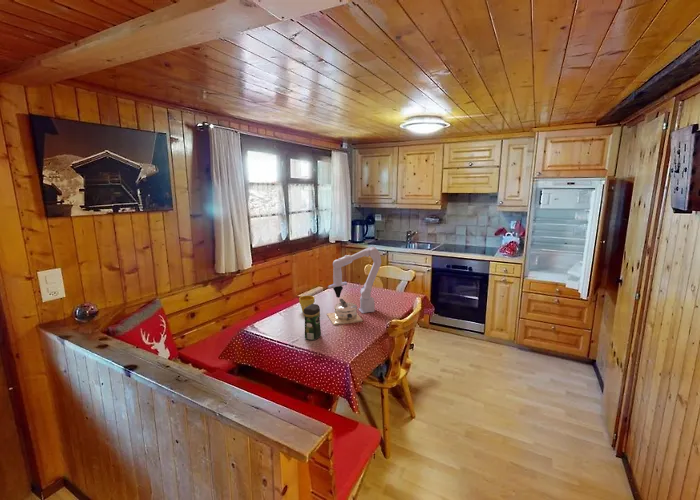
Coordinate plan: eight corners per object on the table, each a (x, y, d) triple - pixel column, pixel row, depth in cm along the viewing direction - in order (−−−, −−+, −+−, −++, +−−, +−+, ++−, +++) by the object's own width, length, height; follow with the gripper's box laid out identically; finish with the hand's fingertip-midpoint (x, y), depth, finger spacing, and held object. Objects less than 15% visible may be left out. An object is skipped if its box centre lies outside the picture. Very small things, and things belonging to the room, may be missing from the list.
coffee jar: (310, 332, 191) (309, 302, 188) (322, 334, 188) (321, 303, 185) (302, 339, 182) (300, 307, 179) (314, 341, 179) (313, 309, 176)
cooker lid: (360, 310, 207) (360, 306, 207) (337, 313, 203) (337, 309, 202) (351, 301, 224) (351, 297, 224) (330, 303, 220) (330, 299, 220)
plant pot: (312, 314, 219) (311, 300, 217) (297, 313, 221) (296, 299, 219) (316, 309, 229) (316, 295, 227) (302, 308, 231) (302, 295, 229)
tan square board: (352, 309, 227) (352, 301, 226) (362, 321, 206) (362, 312, 205) (325, 312, 221) (325, 304, 220) (333, 325, 201) (333, 316, 199)
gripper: (342, 274, 226) (343, 293, 229) (325, 278, 218) (325, 297, 220) (349, 276, 221) (349, 295, 223) (331, 280, 212) (331, 300, 214)
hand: (338, 297), depth 221 cm, fingers closed
